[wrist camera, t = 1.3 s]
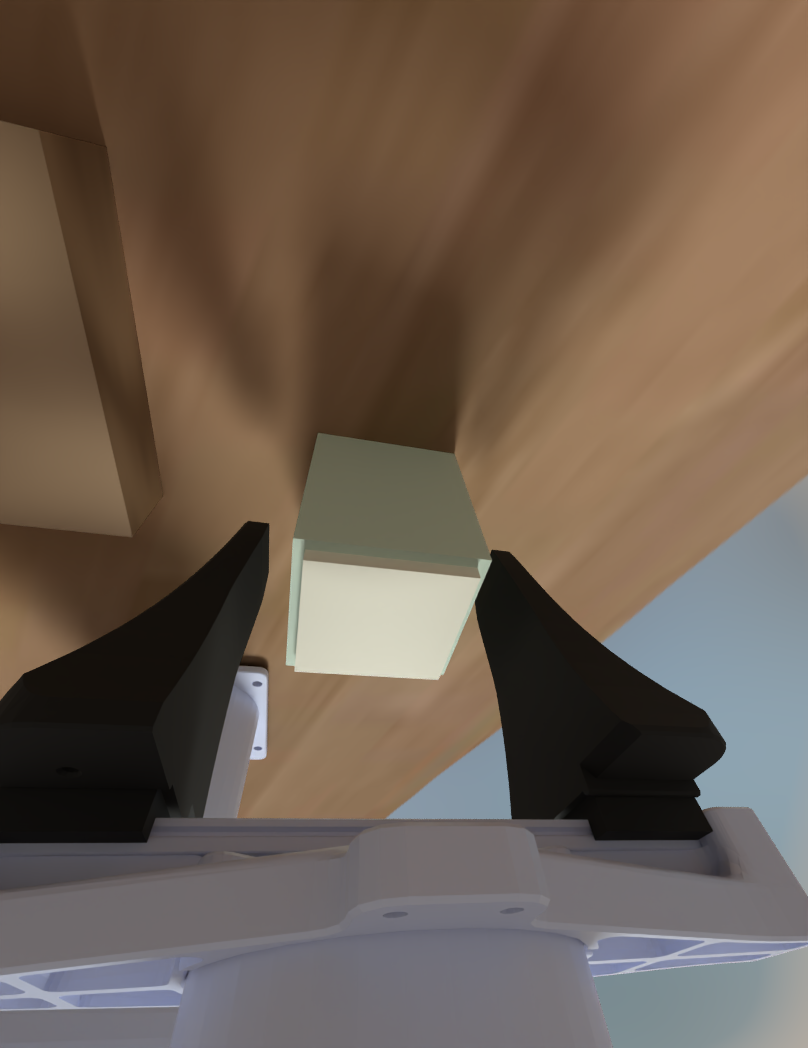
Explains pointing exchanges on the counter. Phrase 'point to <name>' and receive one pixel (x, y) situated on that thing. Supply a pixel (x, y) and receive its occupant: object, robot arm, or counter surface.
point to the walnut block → (68, 345)
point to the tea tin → (382, 561)
